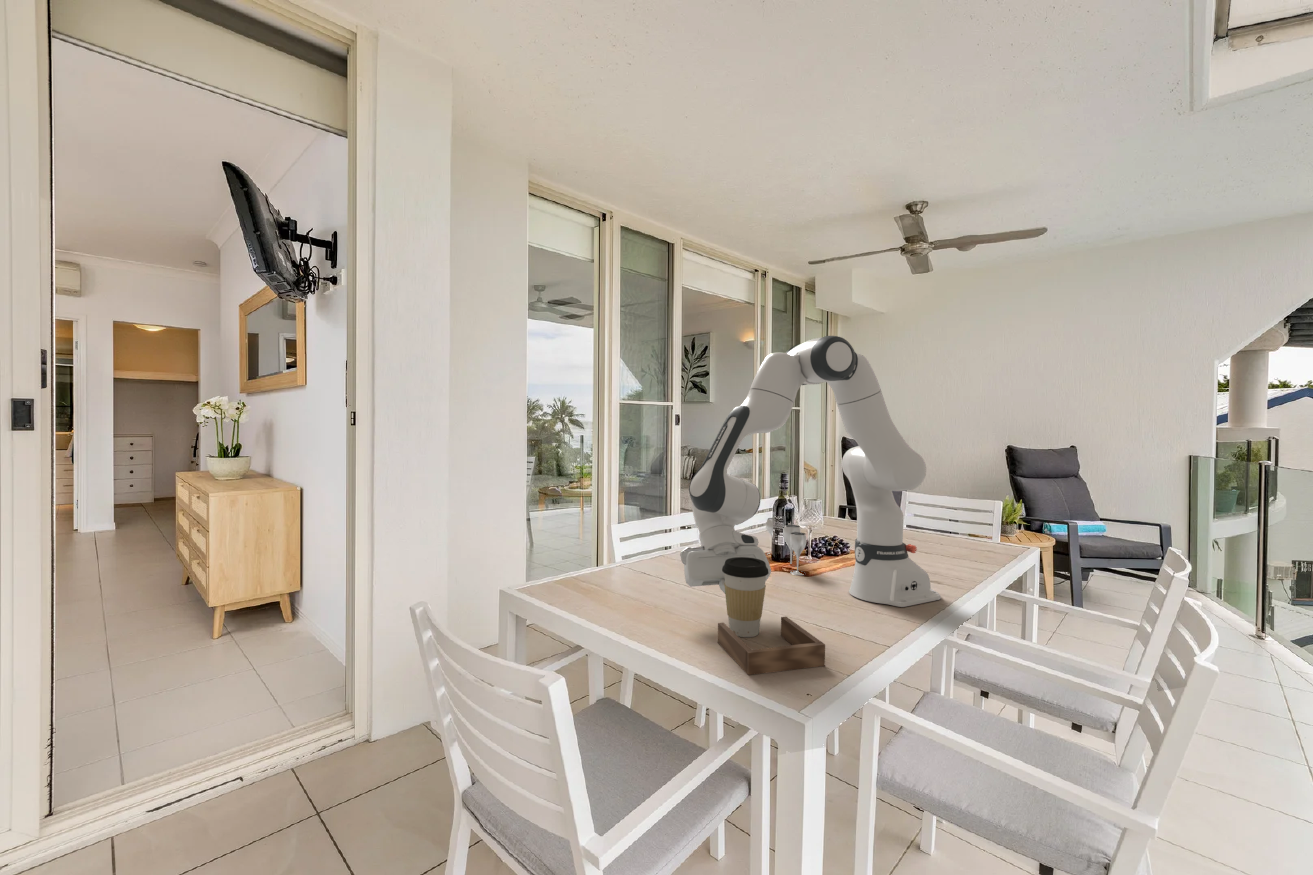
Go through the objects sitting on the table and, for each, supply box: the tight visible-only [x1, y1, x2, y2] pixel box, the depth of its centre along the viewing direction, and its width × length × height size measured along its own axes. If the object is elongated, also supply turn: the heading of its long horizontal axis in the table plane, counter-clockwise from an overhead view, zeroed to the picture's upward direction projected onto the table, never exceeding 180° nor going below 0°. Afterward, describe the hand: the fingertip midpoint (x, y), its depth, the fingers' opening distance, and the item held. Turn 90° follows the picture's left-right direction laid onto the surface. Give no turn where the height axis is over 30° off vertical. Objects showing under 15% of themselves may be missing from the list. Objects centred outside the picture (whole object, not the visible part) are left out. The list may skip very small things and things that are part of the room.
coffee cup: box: [722, 557, 769, 638], centre depth 118 cm, size 10×10×15 cm
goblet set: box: [765, 517, 807, 576], centre depth 174 cm, size 28×6×13 cm, turn 5°
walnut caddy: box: [717, 616, 826, 676], centre depth 107 cm, size 15×15×4 cm
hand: (735, 599), depth 122 cm, fingers closed, pressing on coffee cup
